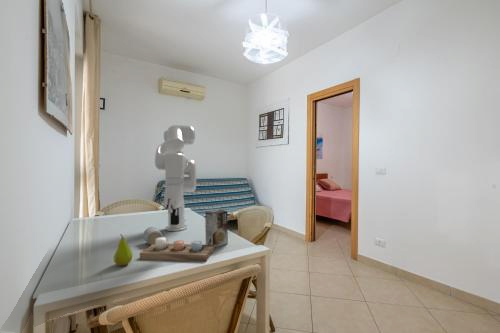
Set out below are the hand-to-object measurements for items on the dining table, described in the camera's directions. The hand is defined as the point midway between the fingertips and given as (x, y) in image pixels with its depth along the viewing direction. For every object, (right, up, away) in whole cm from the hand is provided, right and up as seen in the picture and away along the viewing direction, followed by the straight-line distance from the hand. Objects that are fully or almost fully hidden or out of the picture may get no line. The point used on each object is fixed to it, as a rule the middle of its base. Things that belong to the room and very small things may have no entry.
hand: (174, 224), depth 98 cm
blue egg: (+10, -11, -1) cm, 15 cm away
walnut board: (+2, -13, 0) cm, 13 cm away
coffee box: (+16, -13, +12) cm, 24 cm away
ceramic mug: (-14, -13, +15) cm, 25 cm away
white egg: (-6, -11, +1) cm, 12 cm away
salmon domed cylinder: (+2, -12, 0) cm, 12 cm away
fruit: (-17, -13, -10) cm, 24 cm away
